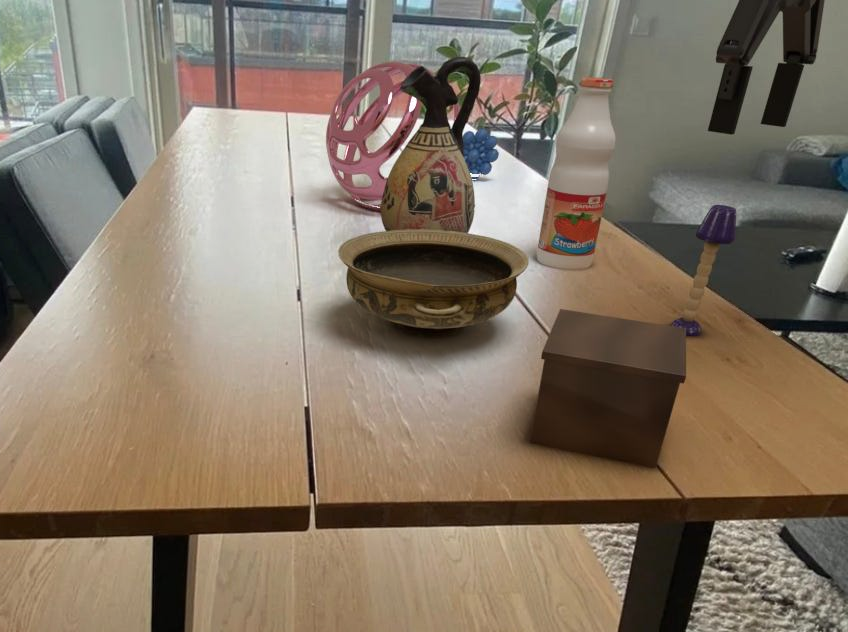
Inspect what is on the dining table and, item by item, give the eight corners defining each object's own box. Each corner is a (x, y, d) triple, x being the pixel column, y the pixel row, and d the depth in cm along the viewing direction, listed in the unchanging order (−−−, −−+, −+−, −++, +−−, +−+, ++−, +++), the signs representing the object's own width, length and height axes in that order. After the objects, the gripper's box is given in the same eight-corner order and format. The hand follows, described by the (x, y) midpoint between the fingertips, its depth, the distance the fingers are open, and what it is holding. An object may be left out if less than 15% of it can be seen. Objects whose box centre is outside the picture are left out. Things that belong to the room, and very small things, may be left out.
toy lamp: (694, 326, 107) (729, 202, 98) (712, 339, 103) (751, 211, 94) (662, 327, 106) (695, 202, 97) (679, 339, 102) (715, 210, 93)
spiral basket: (440, 94, 168) (364, 9, 147) (516, 148, 152) (444, 61, 131) (360, 199, 176) (278, 134, 155) (424, 261, 160) (343, 197, 139)
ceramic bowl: (340, 287, 114) (341, 218, 109) (499, 294, 115) (509, 226, 109) (331, 370, 89) (333, 285, 83) (537, 378, 89) (551, 295, 84)
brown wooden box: (661, 416, 82) (686, 328, 77) (658, 472, 72) (686, 375, 67) (544, 394, 86) (560, 308, 80) (525, 445, 75) (542, 351, 70)
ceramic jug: (390, 270, 123) (403, 57, 107) (370, 243, 135) (379, 49, 119) (490, 268, 126) (517, 61, 110) (461, 242, 139) (482, 53, 123)
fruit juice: (572, 253, 136) (605, 76, 121) (602, 269, 128) (642, 82, 113) (525, 256, 133) (553, 74, 118) (554, 272, 125) (588, 81, 111)
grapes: (498, 180, 189) (505, 128, 183) (493, 185, 184) (500, 131, 177) (452, 175, 192) (457, 123, 186) (446, 180, 187) (451, 126, 180)
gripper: (822, -88, 86) (762, 118, 98) (720, -117, 71) (663, 131, 83) (895, -91, 82) (823, 126, 93) (802, -121, 67) (730, 141, 78)
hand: (747, 129), depth 88 cm, fingers open, 13 cm apart
